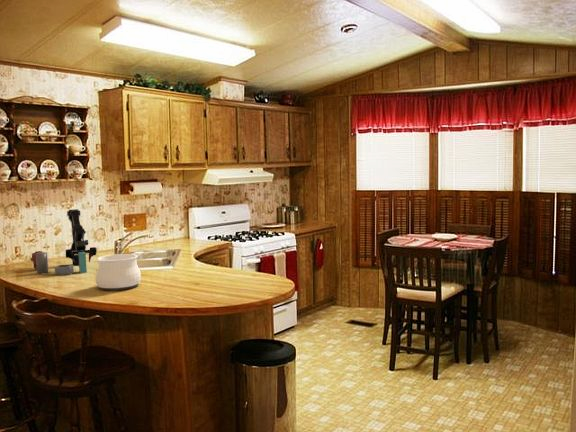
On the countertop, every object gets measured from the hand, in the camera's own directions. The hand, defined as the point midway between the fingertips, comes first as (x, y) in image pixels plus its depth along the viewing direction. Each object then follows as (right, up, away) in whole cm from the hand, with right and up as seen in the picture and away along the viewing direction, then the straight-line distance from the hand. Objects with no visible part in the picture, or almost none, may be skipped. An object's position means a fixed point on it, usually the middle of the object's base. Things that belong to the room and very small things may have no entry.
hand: (82, 262), depth 339 cm
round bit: (-27, -7, +3) cm, 28 cm away
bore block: (-11, -7, -1) cm, 13 cm away
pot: (+37, -10, -42) cm, 57 cm away
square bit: (0, -6, +2) cm, 7 cm away
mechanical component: (-35, -6, +15) cm, 38 cm away
